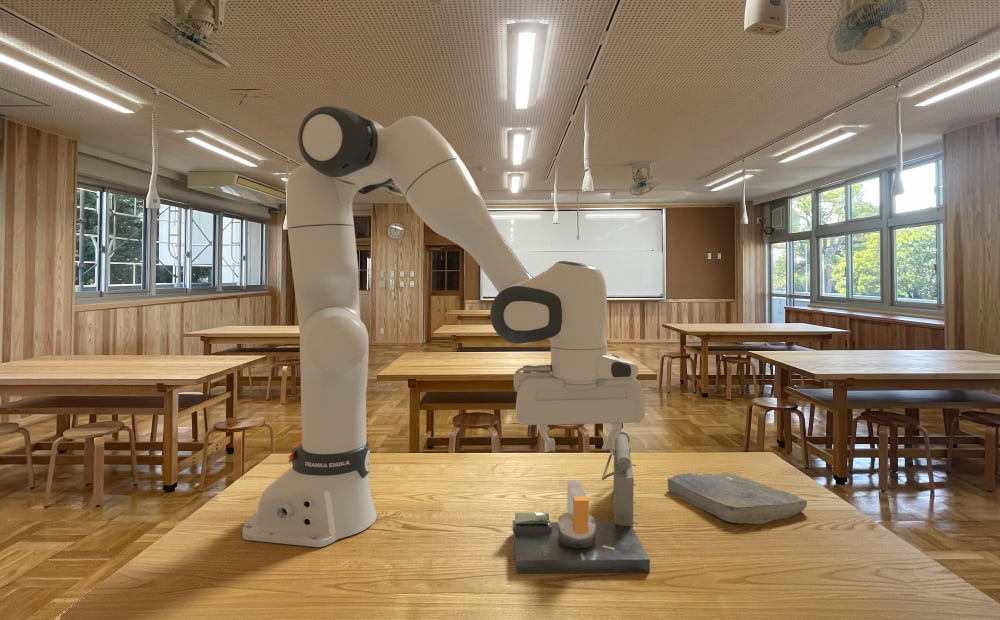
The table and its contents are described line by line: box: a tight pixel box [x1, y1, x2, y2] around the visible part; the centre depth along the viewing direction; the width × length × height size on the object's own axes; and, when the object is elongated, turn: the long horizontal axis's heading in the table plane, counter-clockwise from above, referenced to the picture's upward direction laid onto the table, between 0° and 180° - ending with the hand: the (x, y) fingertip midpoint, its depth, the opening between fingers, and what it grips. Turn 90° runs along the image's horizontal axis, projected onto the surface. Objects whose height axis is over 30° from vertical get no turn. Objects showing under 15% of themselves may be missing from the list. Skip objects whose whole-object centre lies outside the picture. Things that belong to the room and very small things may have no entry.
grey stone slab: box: [667, 472, 808, 525], centre depth 102 cm, size 20×5×17 cm
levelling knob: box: [557, 479, 597, 548], centre depth 83 cm, size 8×6×8 cm
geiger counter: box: [601, 427, 639, 530], centre depth 100 cm, size 14×6×25 cm
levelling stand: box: [512, 511, 651, 574], centre depth 83 cm, size 20×12×5 cm, turn 91°
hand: (579, 450), depth 82 cm, fingers open, 8 cm apart
